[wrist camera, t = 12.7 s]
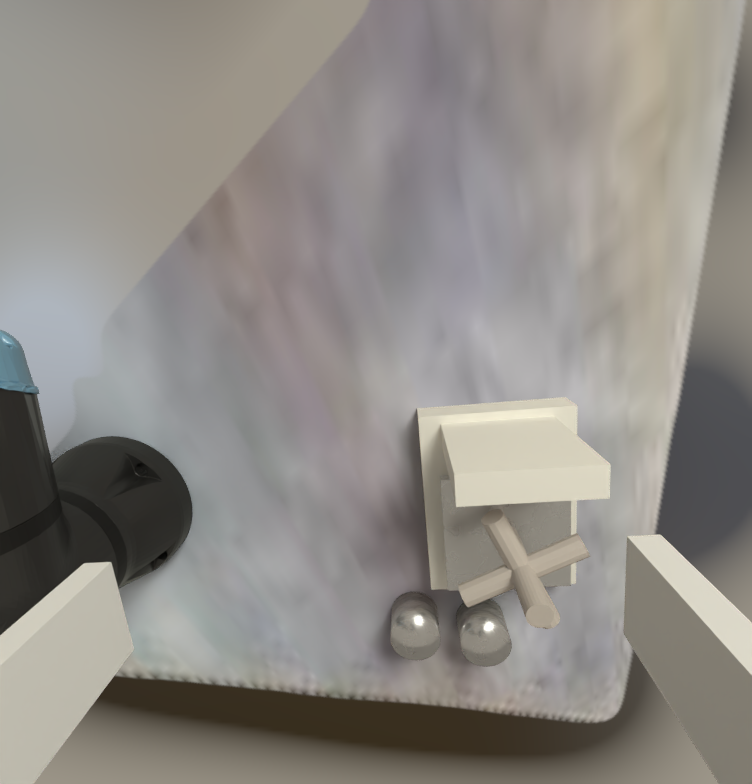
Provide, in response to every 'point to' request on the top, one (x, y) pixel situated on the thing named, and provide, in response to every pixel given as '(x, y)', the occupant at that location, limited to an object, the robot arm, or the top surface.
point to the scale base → (504, 462)
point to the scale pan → (475, 548)
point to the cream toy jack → (522, 570)
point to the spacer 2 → (483, 633)
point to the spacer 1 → (415, 626)
